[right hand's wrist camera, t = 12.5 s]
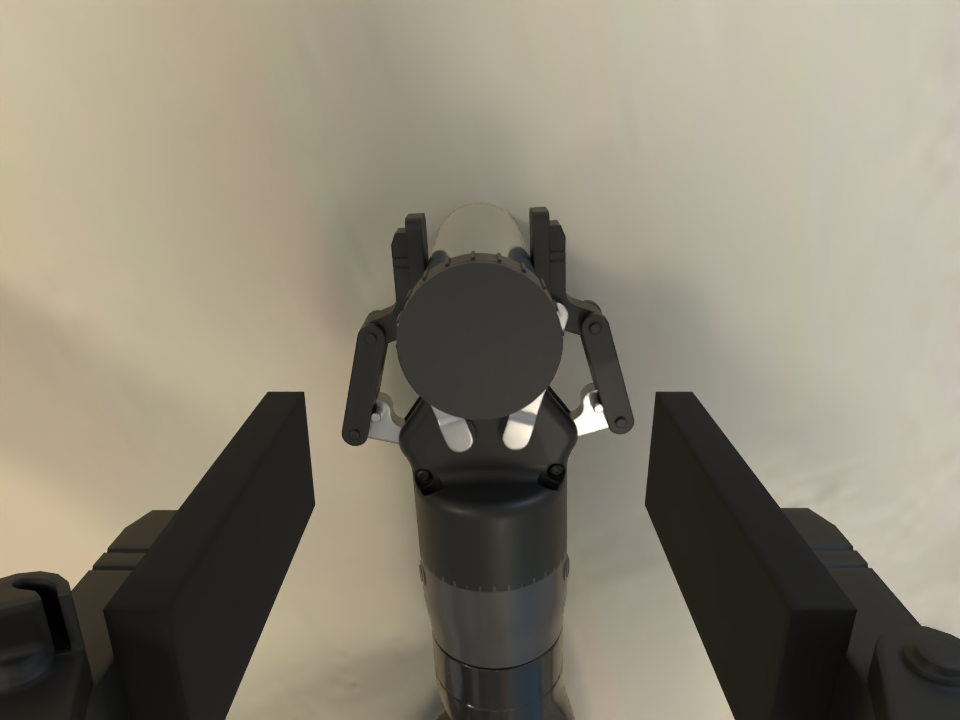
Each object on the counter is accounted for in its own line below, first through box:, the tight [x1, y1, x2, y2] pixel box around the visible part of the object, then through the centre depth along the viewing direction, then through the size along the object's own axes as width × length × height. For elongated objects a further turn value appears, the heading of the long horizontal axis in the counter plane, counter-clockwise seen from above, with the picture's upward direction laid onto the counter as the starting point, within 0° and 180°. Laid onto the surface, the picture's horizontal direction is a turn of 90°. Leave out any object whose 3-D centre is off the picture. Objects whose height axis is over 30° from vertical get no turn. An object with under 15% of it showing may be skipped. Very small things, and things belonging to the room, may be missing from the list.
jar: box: [425, 203, 536, 275], centre depth 29 cm, size 5×5×16 cm
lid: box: [396, 251, 564, 420], centre depth 22 cm, size 5×5×2 cm
